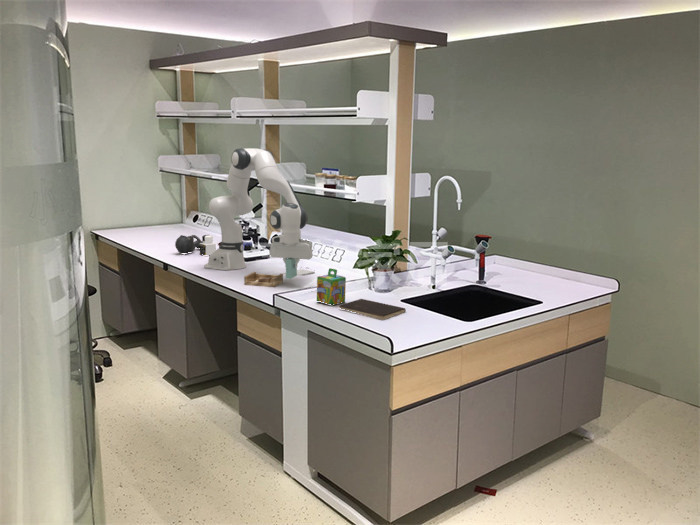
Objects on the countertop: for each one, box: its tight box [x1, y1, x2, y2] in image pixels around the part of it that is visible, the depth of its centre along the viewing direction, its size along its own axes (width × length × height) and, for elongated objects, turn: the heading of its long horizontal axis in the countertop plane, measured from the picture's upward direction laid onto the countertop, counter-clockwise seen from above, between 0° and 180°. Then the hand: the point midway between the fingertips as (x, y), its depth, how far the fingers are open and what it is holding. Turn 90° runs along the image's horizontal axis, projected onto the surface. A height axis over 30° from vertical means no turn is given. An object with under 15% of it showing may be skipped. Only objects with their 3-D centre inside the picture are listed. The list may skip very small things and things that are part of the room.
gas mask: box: [174, 234, 203, 254], centre depth 381 cm, size 14×9×25 cm
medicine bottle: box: [199, 234, 217, 256], centre depth 373 cm, size 7×7×12 cm
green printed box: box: [316, 268, 347, 306], centre depth 268 cm, size 9×9×15 cm
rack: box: [243, 271, 284, 288], centre depth 299 cm, size 15×11×5 cm
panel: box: [285, 258, 298, 280], centre depth 293 cm, size 8×2×9 cm, turn 164°
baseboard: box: [280, 266, 315, 276], centre depth 320 cm, size 31×3×12 cm
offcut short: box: [258, 277, 271, 282], centre depth 297 cm, size 5×4×2 cm
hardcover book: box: [338, 298, 406, 321], centre depth 258 cm, size 16×23×2 cm
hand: (291, 267), depth 293 cm, fingers closed on panel, 2 cm apart
